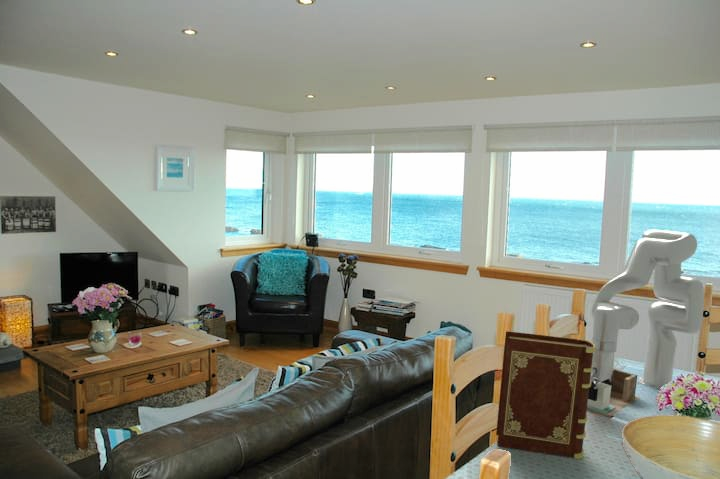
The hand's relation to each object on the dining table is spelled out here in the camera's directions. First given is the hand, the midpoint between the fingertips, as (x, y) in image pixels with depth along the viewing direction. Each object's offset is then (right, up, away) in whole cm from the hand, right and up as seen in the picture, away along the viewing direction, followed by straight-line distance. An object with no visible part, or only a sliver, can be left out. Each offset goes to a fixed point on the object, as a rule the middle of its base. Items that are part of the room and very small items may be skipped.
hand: (597, 396), depth 178 cm
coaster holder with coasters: (+6, -4, +6) cm, 10 cm away
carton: (0, -3, 0) cm, 3 cm away
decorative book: (-29, -6, -29) cm, 41 cm away
